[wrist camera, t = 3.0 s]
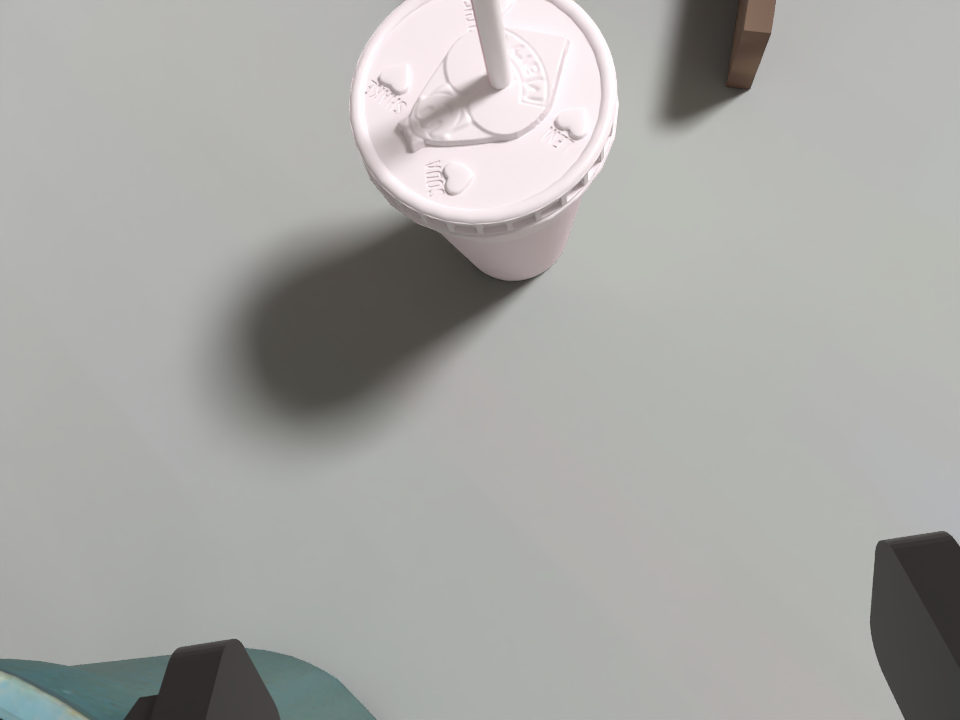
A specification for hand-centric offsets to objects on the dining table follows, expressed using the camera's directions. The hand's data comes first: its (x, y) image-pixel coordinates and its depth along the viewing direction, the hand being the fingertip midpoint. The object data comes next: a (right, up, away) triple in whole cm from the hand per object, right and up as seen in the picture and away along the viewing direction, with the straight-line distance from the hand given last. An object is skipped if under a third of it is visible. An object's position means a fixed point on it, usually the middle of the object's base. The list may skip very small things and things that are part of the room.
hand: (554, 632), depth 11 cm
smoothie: (0, +8, +19) cm, 20 cm away
